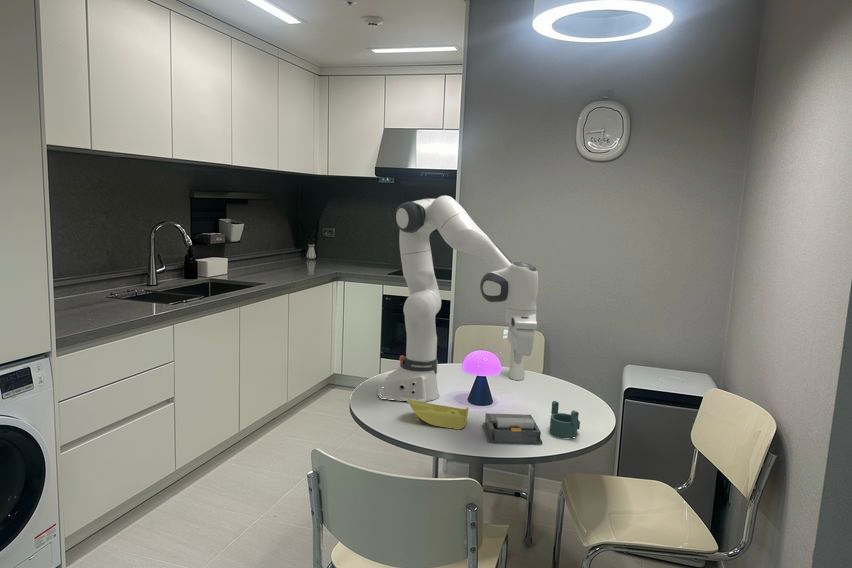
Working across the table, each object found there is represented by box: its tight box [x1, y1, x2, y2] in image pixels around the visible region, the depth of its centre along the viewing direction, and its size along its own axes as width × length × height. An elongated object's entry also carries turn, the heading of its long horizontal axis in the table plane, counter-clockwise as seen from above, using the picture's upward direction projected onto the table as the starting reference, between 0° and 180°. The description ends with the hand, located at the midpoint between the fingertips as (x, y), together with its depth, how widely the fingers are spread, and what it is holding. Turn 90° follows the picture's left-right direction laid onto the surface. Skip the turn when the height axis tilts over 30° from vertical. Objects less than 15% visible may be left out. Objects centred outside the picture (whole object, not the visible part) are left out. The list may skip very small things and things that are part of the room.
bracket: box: [549, 400, 581, 439], centre depth 173 cm, size 9×9×9 cm
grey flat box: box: [482, 412, 543, 445], centre depth 171 cm, size 16×14×4 cm
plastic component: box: [408, 398, 469, 430], centre depth 180 cm, size 20×7×10 cm
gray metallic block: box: [495, 418, 535, 430], centre depth 167 cm, size 11×4×5 cm, turn 91°
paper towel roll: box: [508, 344, 526, 381], centre depth 229 cm, size 7×6×21 cm
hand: (517, 362), depth 166 cm, fingers closed
